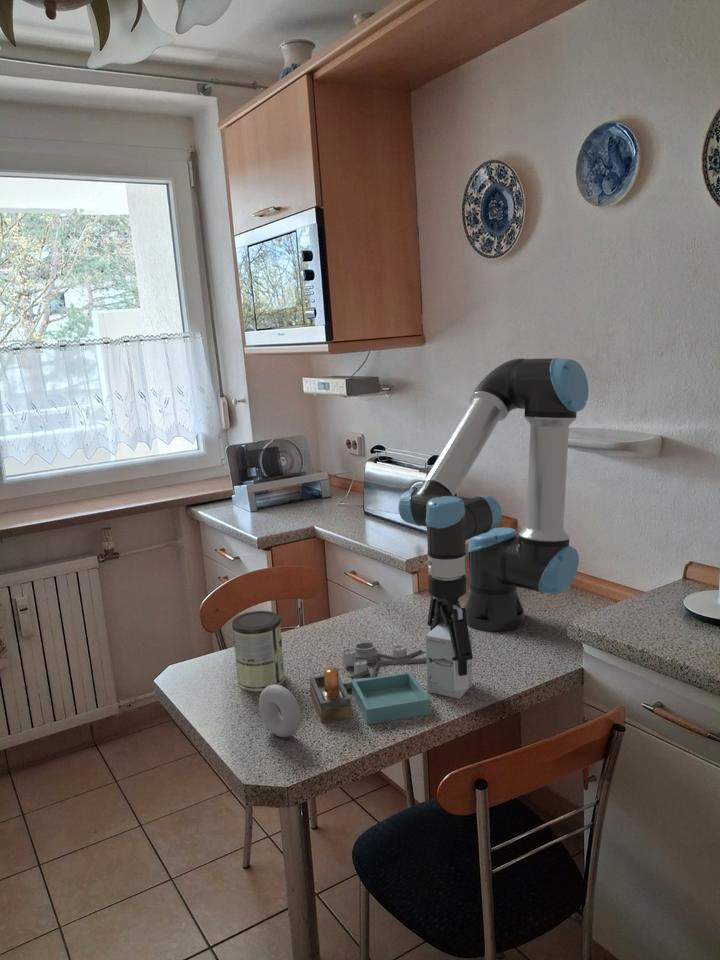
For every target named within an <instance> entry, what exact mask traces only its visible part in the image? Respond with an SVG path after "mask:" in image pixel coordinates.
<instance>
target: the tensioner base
mask: <svg viewBox="0 0 720 960" xmlns="http://www.w3.org/2000/svg"><path fill="white" fill-rule="evenodd" d="M338 676H339V690H340V692H341V694H342V696H343V698H338V699H332V700H326V701H324V700H323V697H322V692H324V691H325V683H324V674H322V675H313V676H309V692H310V693H309V694H310V698H311V700H312V702H313V705H314V707H315V710H316V712H317V715H318V717H319V720H320V723H321V724H324V723H330V722H334V721H335V722H337V721H340V720H341V721H342V720H347V719H352V718H353V715H352V714H353V712H352V705H351V697H350V695H349V693H348V691H347V689H345V687H344V685H343V683H342V681H341V679H342V678H341V677H340V675H339V674H338Z"/></svg>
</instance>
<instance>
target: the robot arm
mask: <svg viewBox="0 0 720 960" xmlns="http://www.w3.org/2000/svg"><path fill="white" fill-rule="evenodd" d="M588 398H589V381H588V377H587V374H586V372H585V370H584V367H582V365H581V364H580V362H578V361H576V360H575V359H572V358H561V357H555V358H552V357H551V358H515V359H514V358H513V359H510V360H508V361H506V362H504V363H501V364H500V365H498V366H496V368H494V369H493V370H492V371H490V372H489V373H488V374H487V375H486V376H484V377H483V379H482V380H481V381H480V382H479V384H478V385H477V386H476V387H475V389H474V391H473V392H472V394H471V395H470V397H469V404H470V405H469V407H468V408H467V410H466V412H465V414H464V415H463V416H462V418H461V420H460V421H459V423H458V425H457V426H456V428H455V429H454V431H453V433H452V434H451V436H450V437H449V439H448V441H447V442H446V444H445V445H444V447H443V449H442V450H441V452H440V454H439V455H438V457H437V458H436V460H435V462H434V464H433V465H432V466H431V468H430V471H429V472H428V473H427V475H426V476H425V478H424V480H423V481H422V483H421V484H420V486H419V488H418V489H415V488H414V489H409V490H407V491H405V492H404V493H402V494H401V496H400V498H399V501H398V507H397V508H398V512H399V513H398V514H399V516H400V518H401V519H402V520H403V522H406V523H407V524H411V525H415V526H418V527H426V537H427V559H428V560H426V561H425V565H426V566H428V567H427V571H428V574H429V576H428V577H427V578H428V580H427V581H428V593H429V595H430V603H429V610H428V616H427V617H428V618H427V625H428V626H427V627H430V631H432V630H433V629H434V628H435V627H436V626H437V625H439V624H440V623H441V624H445V626H446V627H448V629H449V633H450V637H451V641H452V646H453V650H454V654H455V657H453V658H452V660H453V665H454V689H455V690H462V689H468V660H471V659H472V660H473V658H474V656H473V649H472V650H471V644H470V638H469V632H468V628H469V627H471V628H472V629H476V630H480V631H487V632H500V631H501V632H504V631H510V630H514V629H517V628H519V627H521V626H522V625H523V624H524V623H525V609H524V607H523V604H522V601H521V598H520V596H519V593H518V592H519V591H518V588H521V589H526V590H529V591H533V592H539V593H540V594H547V595H555V596H557V595H562V594H563V593H564V592H566V591H567V590H568V589H569V588H570V586H571V585H572V583H573V582H574V580H575V578H576V575H577V573H578V569H579V568H578V567H579V564H580V563H579V562H580V561H579V560H580V557H579V553H578V550H577V549H576V548H575V547H573V546H572V545H570V538H571V536H570V535H569V534H568V533H567V532H566V531H565V529H564V526H565V525H564V523H565V508H566V505H565V504H566V488H567V487H566V486H567V484H566V483H567V470H568V469H567V468H568V451H569V450H568V449H569V432H570V426H571V424H573V422H575V421H576V420H577V412H580V411H582V410H583V409H584V408H585V407H586V405H587V401H588V400H589V399H588ZM516 409H521V410H522V409H524V416H523V417H524V419H525V420H526V421H527V422H528V423H529V425H530V426H529V427H530V429H529V447H528V448H529V450H528V468H527V469H528V470H527V472H528V473H527V487H526V488H527V491H526V508H525V509H526V512H525V526H524V528H523V529H521V530H520V531H519V532H518V533H517V530H516V529H514V528H513V527H498V526H499V525H500V523H501V521H502V517H503V512H502V507H501V505H500V503H499V502H498V501H497V499H496V498H495V497H493V496H492V495H488V494H487V495H486V494H484V495H477V496H474V497H466V496H460V495H459V496H458V495H456V494H457V492H458V490H459V488H460V487H461V485H462V483H463V482H464V480H465V478H466V477H467V475H468V474H469V472H470V470H471V469H472V467H473V465H474V463H475V462H476V460H477V458H478V457H479V454H480V453H481V452H482V450H483V449H484V446H485V445H486V444H487V441H488V440H489V438H490V437H491V436H492V433H493V431H494V430H495V428H496V427H497V425H498V423H499V422H501V421H504V420H505V419H506V418H507V417H508V415H509V413H510V412H511V411H514V410H516ZM467 540H468V549H467V552H468V574H469V576H468V579H469V582H468V583H469V592H468V594H467V597H466V600H465V604H464V607H461V604H460V601H459V599H460V598H461V597H463V596H464V595H465V594H466V592H467V576H466V575H465V574H467V554H466V553H467V552H466V541H467ZM468 690H469V689H468Z"/></svg>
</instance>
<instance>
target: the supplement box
mask: <svg viewBox="0 0 720 960" xmlns="http://www.w3.org/2000/svg"><path fill="white" fill-rule="evenodd" d="M468 632H469V638H470V644H471V650H472V651H473V628H469V627H468ZM425 646H426V658H427V662H426V686H427V687H426V692H427V693H433V694H437V695H442V696H446V697H450V698H455V699H458V700H460V699H461V698H462V697H463V696H464V695H465V694H466V692H468V690H469V689H470V688H471V687H472V686H473V659H471V660H468V689H462V690H455V689H454V665H453V660H452V658H453V657H455V654H454V650H453V646H452V641H451V637H450V633H449V629H448V627H446V626H445V624H441V623H440V624H439V625H437V626H436V627H435V628H434V629H433V630H432V631H431V630H430V631H429V632H428V633H427V634H426V635H425Z"/></svg>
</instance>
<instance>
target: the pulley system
mask: <svg viewBox="0 0 720 960" xmlns="http://www.w3.org/2000/svg"><path fill="white" fill-rule="evenodd" d="M376 645H377V644H376V643H373V642H367V641H362V642H358V643H355V645H354V646H353V648H354V649H351V648H350V649H345V650H343V651H342V652H341V657H342V660H341V661H342V665H344V666H345V667H347V666H349V667H353V671H354V672H353V675H350V676H346V677H343V678H340V679H341V681H342V683H343V685H344V687H345V689H346V690H349V689H352V682H351V681H354V680H360V679H367V678H368V677H365V676H368V674H369V673H370V672H369V668H368V664H372V663H374V662H376V665H375V667H374V669H373V671H372V672H371V675H370V677H369V678H373V677H374V676H375V674H376V671H377V669H378V667H379V666H381V665H398V664H399V665H402V664H403V665H404V664H415V663H417V664H418V663H419V664H421V663H427V658H426V647H422V648H421V649H419V650H417V651H414V652H411V653H409V654H407V653H408V651H407V649H408V648H407V647H405V646H403V645H396V646H394V647H392V655H393V656H392V655H389V654H384V653H379V651H378V650H377V649H376ZM418 654H422V658H421V657H420V658H412V657H414V656H416V655H418ZM378 657H381V658H383V659H384V658H385V659H389V660H379V661H377V660H378ZM364 677H365V678H364Z"/></svg>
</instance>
